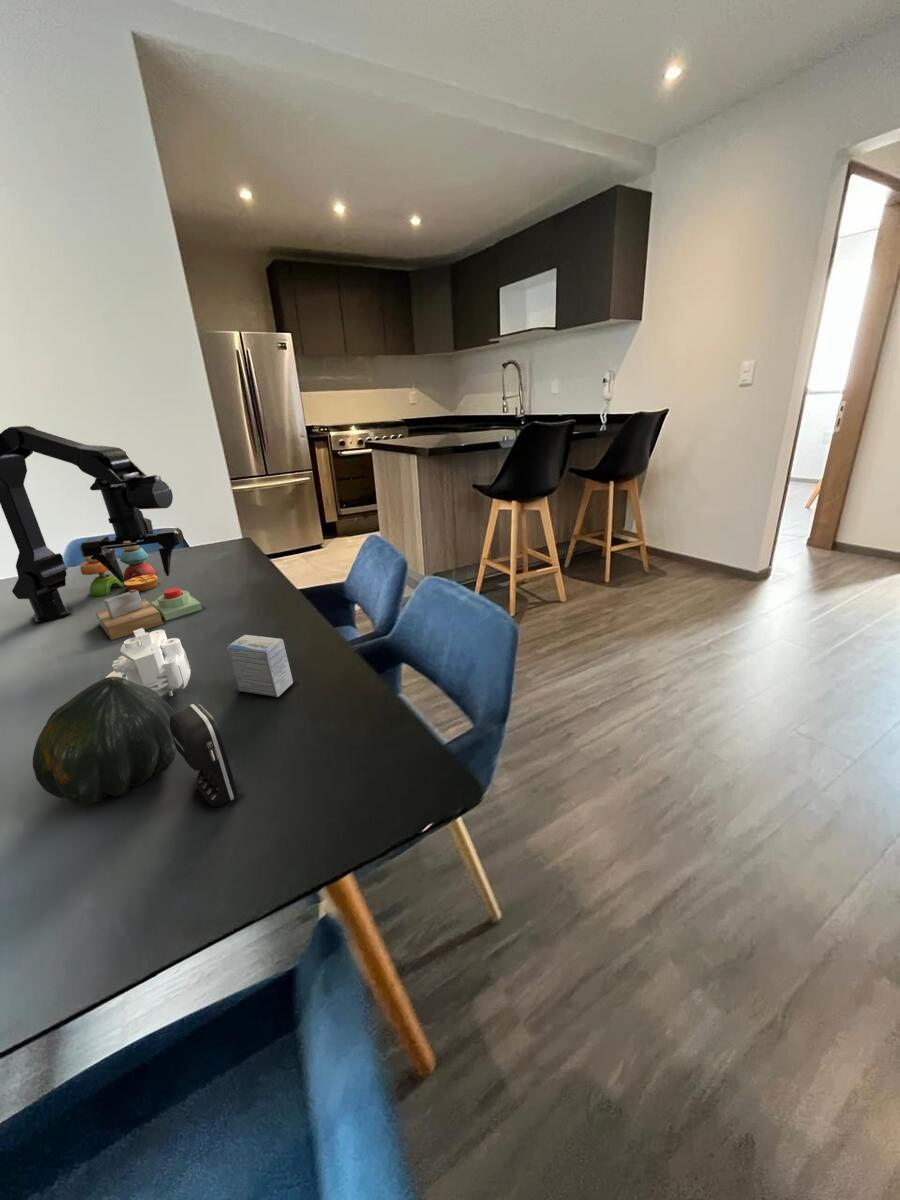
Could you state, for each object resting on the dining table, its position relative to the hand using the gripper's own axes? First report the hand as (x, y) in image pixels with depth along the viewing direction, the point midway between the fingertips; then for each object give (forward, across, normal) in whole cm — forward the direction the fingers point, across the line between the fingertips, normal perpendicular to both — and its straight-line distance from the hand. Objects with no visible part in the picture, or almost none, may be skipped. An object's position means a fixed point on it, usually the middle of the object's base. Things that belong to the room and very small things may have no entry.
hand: (145, 578), depth 111 cm
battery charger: (+10, -21, +66) cm, 70 cm away
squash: (+10, -9, +59) cm, 60 cm away
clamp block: (+9, +5, +3) cm, 11 cm away
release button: (+6, -4, -2) cm, 8 cm away
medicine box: (+10, -26, +43) cm, 51 cm away
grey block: (+6, +5, +3) cm, 8 cm away
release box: (+9, -4, -2) cm, 10 cm away
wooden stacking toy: (+9, +12, -29) cm, 33 cm away
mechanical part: (+10, -8, +40) cm, 42 cm away
